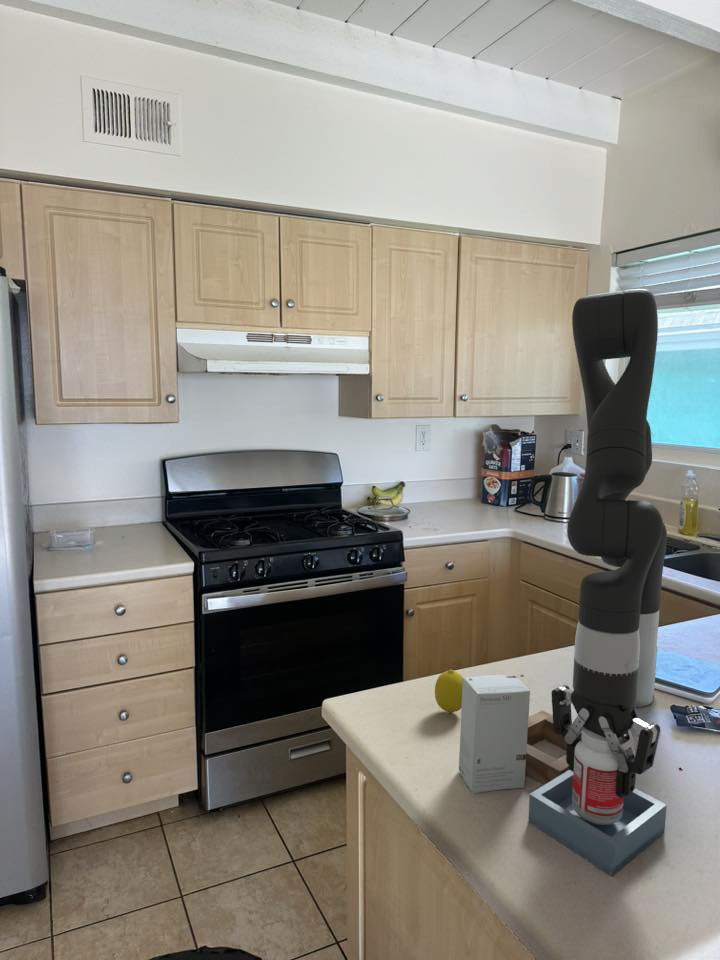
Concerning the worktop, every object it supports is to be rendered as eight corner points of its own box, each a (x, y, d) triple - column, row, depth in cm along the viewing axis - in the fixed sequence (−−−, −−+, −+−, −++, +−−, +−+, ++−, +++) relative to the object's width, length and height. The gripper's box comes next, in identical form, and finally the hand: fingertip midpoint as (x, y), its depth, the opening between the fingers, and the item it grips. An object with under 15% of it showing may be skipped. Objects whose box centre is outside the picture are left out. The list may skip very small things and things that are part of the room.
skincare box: (471, 795, 91) (474, 695, 89) (457, 769, 97) (459, 675, 94) (527, 788, 92) (532, 689, 90) (510, 763, 98) (513, 670, 96)
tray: (581, 787, 93) (583, 761, 92) (664, 833, 83) (666, 804, 83) (528, 821, 85) (529, 794, 85) (612, 876, 76) (614, 845, 75)
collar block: (541, 730, 108) (542, 710, 107) (607, 763, 98) (608, 742, 98) (492, 755, 100) (493, 734, 100) (558, 794, 91) (560, 771, 90)
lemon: (430, 718, 111) (431, 674, 110) (439, 703, 116) (440, 660, 115) (462, 724, 109) (463, 679, 108) (469, 709, 114) (470, 666, 113)
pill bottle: (632, 815, 83) (638, 735, 81) (602, 833, 80) (607, 750, 78) (591, 790, 88) (596, 714, 86) (561, 806, 85) (565, 727, 83)
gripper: (678, 670, 77) (668, 798, 80) (573, 632, 89) (567, 746, 91) (645, 688, 73) (635, 823, 75) (539, 646, 84) (533, 765, 87)
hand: (598, 781), depth 83 cm, fingers closed on pill bottle, 6 cm apart
